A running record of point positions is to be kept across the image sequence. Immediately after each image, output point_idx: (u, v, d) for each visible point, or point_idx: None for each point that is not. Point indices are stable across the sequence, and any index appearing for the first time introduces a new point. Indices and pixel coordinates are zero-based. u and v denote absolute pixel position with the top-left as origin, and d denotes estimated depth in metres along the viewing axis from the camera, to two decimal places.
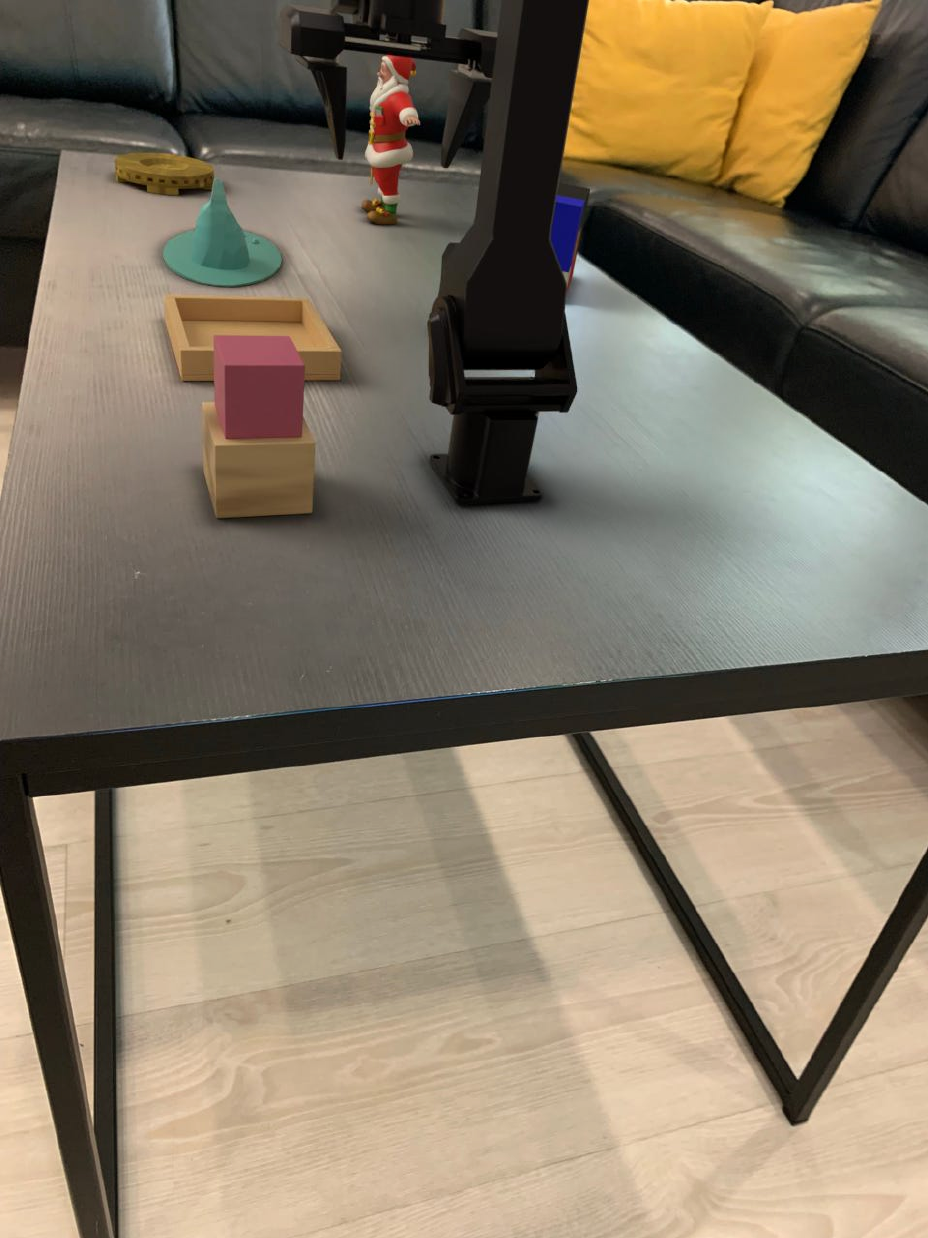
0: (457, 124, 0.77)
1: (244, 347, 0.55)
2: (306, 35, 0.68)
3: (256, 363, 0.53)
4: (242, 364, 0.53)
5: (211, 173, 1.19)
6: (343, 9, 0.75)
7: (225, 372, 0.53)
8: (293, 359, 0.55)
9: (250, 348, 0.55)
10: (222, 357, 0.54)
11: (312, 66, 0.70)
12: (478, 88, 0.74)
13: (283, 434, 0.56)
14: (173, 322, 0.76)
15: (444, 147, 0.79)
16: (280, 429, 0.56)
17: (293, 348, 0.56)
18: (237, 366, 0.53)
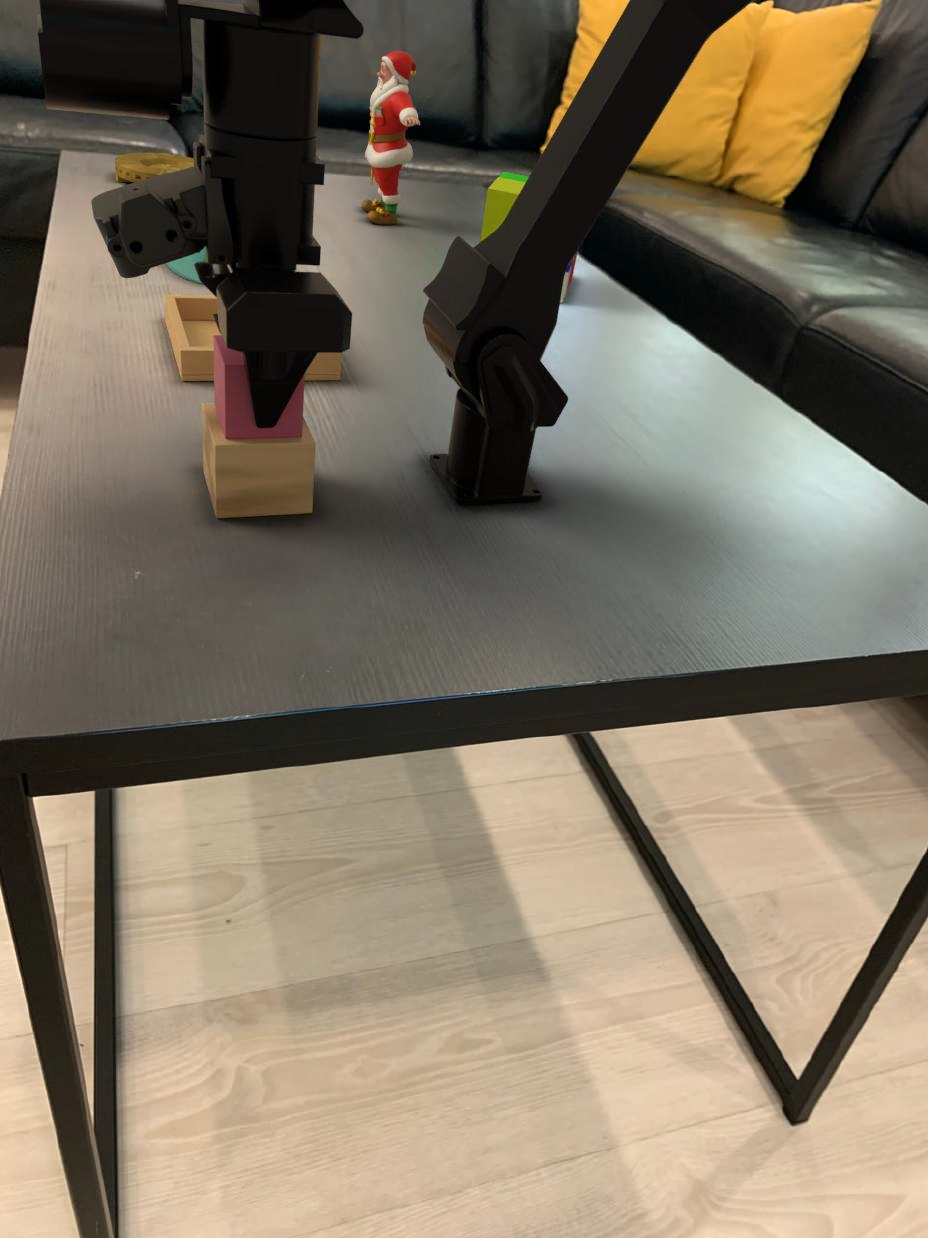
0: None
1: None
2: None
3: None
4: (242, 365, 0.53)
5: None
6: None
7: (225, 372, 0.53)
8: None
9: None
10: (222, 357, 0.54)
11: None
12: None
13: (283, 434, 0.56)
14: (173, 322, 0.76)
15: None
16: (280, 429, 0.56)
17: None
18: (237, 366, 0.53)
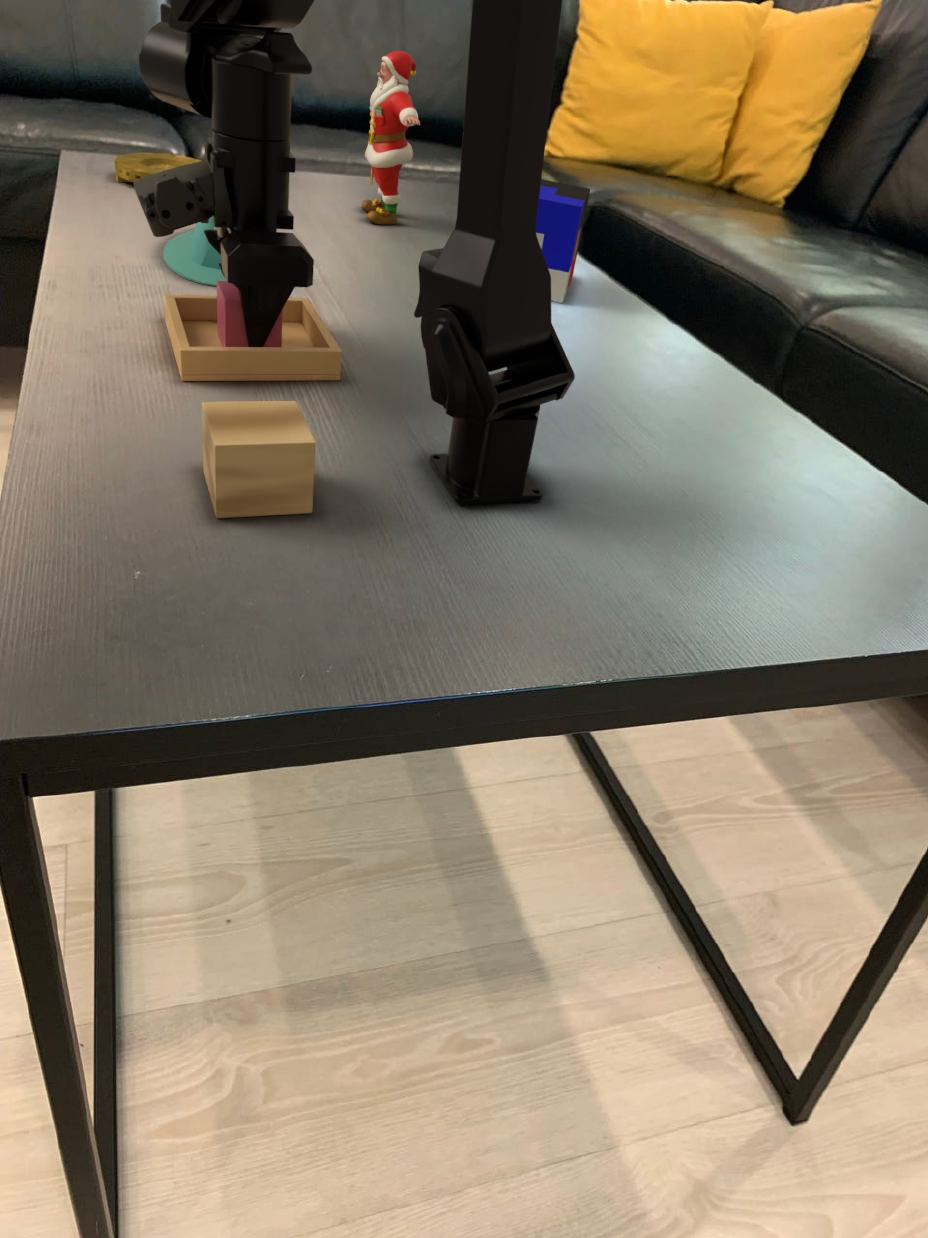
0: None
1: None
2: None
3: None
4: (237, 299, 0.74)
5: None
6: None
7: (225, 305, 0.74)
8: None
9: None
10: (223, 294, 0.75)
11: None
12: None
13: None
14: (173, 322, 0.76)
15: None
16: None
17: None
18: (234, 300, 0.74)
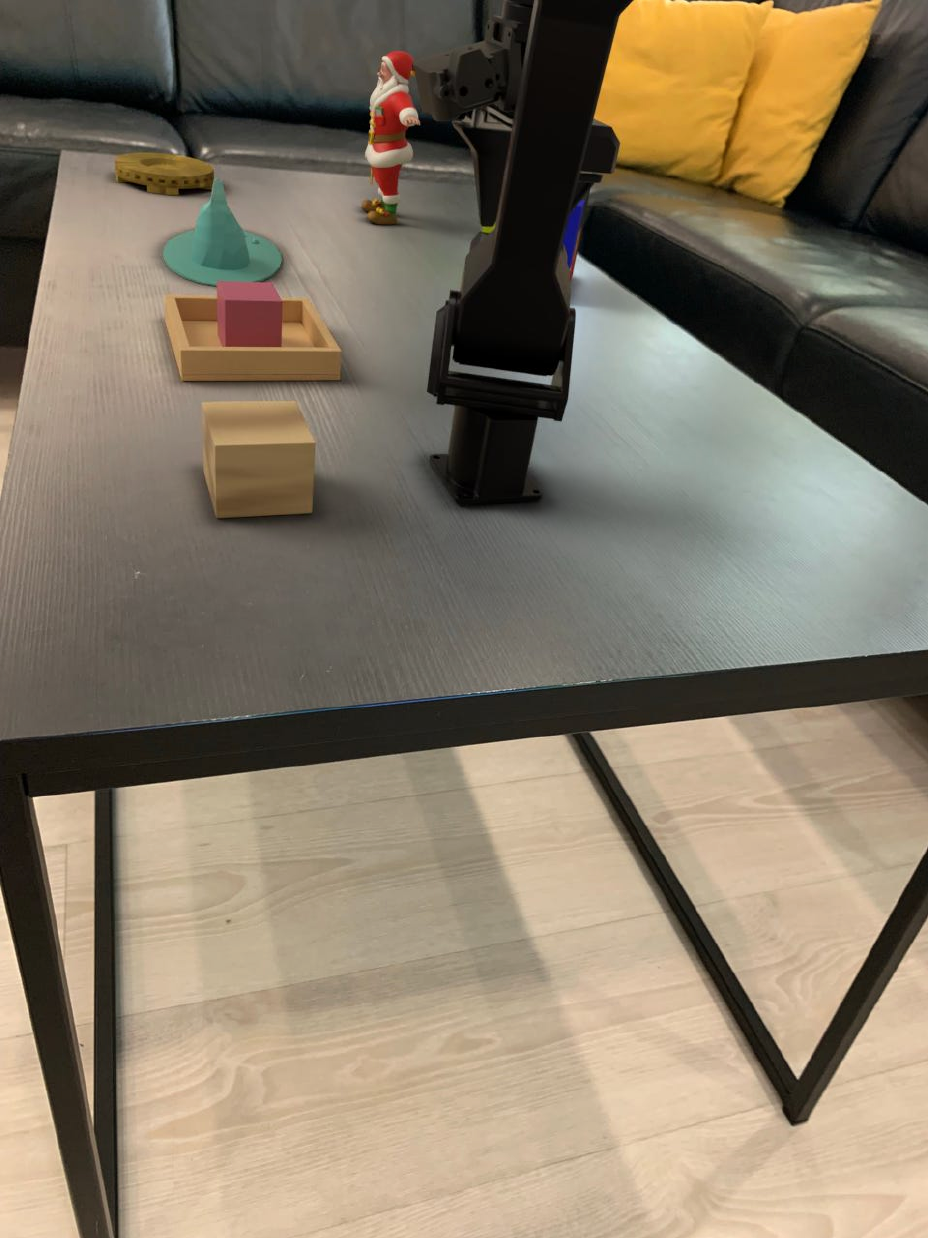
0: None
1: (238, 289, 0.76)
2: None
3: (247, 299, 0.75)
4: (237, 299, 0.74)
5: (211, 173, 1.19)
6: None
7: (225, 305, 0.74)
8: (274, 297, 0.76)
9: (243, 289, 0.76)
10: (223, 294, 0.75)
11: (601, 178, 0.65)
12: None
13: None
14: (173, 322, 0.76)
15: (490, 207, 0.75)
16: None
17: (274, 290, 0.77)
18: (234, 300, 0.74)
